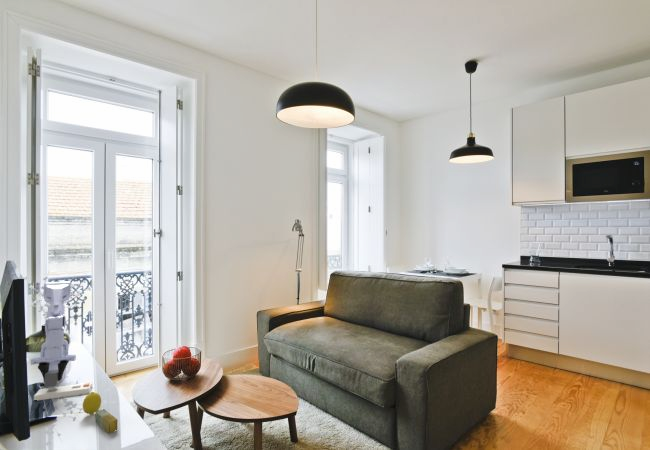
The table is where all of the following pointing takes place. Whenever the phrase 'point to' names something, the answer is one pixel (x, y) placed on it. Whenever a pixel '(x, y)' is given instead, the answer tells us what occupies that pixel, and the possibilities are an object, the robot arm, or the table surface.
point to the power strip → (63, 391)
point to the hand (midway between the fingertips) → (53, 380)
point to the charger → (51, 379)
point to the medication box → (106, 420)
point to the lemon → (91, 403)
